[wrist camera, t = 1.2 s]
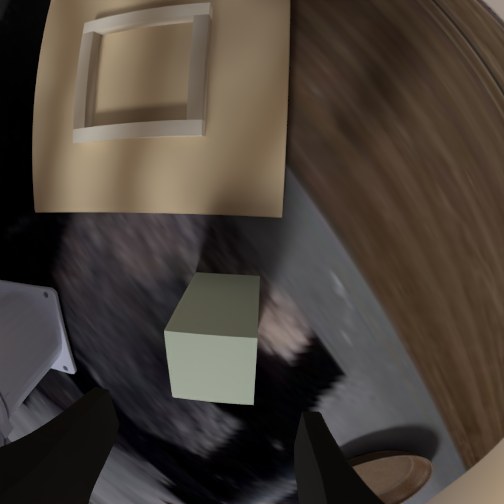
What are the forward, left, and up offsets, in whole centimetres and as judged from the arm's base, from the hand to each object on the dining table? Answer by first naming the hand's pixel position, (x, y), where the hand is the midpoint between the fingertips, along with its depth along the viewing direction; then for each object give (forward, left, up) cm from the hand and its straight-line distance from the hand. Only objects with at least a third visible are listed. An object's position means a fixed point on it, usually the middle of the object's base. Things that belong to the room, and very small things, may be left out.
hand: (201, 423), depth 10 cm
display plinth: (-5, +14, -10) cm, 18 cm away
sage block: (0, 0, -10) cm, 11 cm away
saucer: (+15, -22, -11) cm, 29 cm away
